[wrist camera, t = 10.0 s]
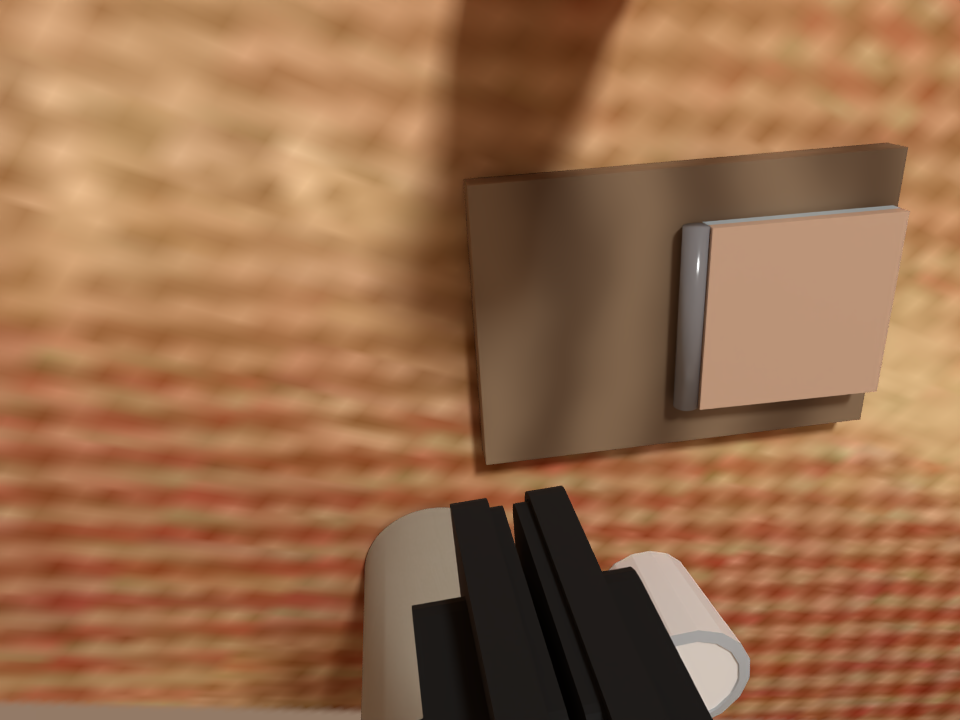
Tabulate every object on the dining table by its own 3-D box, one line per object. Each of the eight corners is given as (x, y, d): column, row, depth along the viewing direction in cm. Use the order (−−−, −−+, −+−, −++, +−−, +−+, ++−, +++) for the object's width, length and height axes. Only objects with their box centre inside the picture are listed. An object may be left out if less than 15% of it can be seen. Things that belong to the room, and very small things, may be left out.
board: (482, 449, 38) (486, 464, 37) (463, 179, 32) (467, 185, 31) (843, 406, 40) (860, 419, 39) (887, 142, 34) (907, 147, 33)
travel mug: (370, 501, 39) (364, 841, 22) (516, 505, 40) (611, 830, 24) (360, 617, 42) (349, 991, 26) (496, 618, 43) (569, 974, 27)
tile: (876, 391, 36) (862, 380, 37) (909, 211, 32) (893, 205, 34) (677, 412, 36) (669, 400, 37) (688, 230, 32) (678, 224, 33)
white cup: (685, 526, 42) (739, 613, 36) (707, 610, 45) (761, 704, 39) (572, 567, 42) (607, 661, 36) (603, 647, 45) (639, 747, 39)
